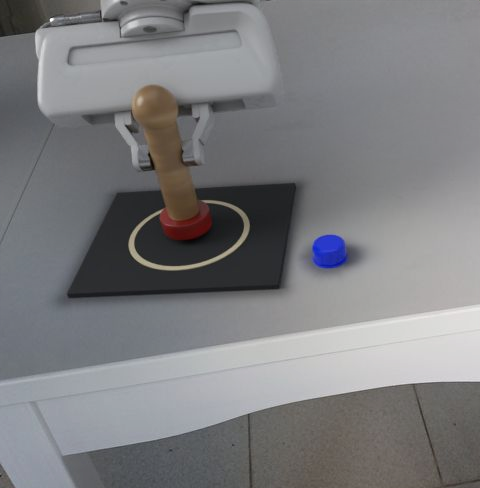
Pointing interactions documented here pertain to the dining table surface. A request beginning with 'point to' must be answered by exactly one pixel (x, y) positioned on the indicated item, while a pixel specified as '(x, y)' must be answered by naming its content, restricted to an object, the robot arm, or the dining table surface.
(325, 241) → the bottle cap
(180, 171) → the stamp
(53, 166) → the dining table surface
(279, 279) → the mat
